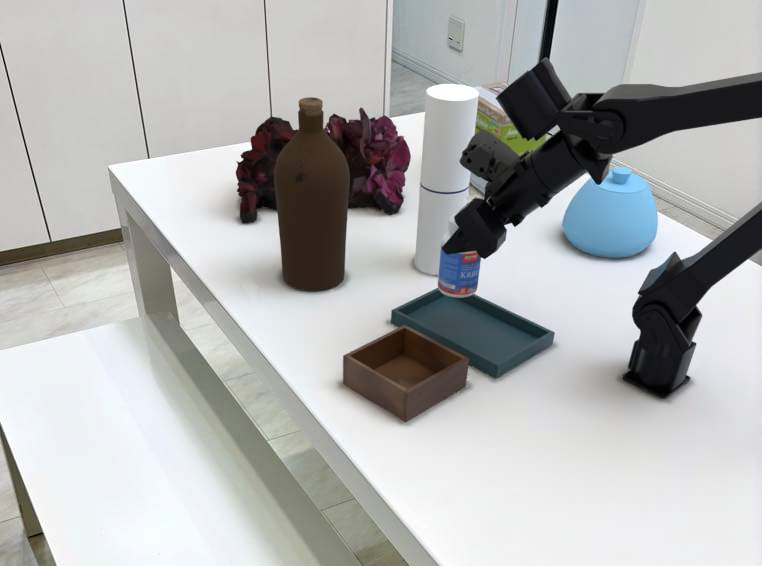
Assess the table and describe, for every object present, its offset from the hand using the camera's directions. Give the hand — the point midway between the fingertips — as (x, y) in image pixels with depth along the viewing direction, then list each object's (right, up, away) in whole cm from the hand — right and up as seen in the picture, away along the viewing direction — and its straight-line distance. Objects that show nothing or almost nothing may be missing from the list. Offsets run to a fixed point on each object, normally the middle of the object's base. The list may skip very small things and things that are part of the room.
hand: (452, 242), depth 113 cm
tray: (+3, -10, +7) cm, 13 cm away
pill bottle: (+1, -5, +4) cm, 7 cm away
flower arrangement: (-19, +20, +38) cm, 47 cm away
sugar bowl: (+28, +10, +29) cm, 42 cm away
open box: (-6, -19, -3) cm, 20 cm away
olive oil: (-19, +1, +18) cm, 26 cm away
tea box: (+13, +27, +46) cm, 54 cm away
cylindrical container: (0, +4, +22) cm, 22 cm away
